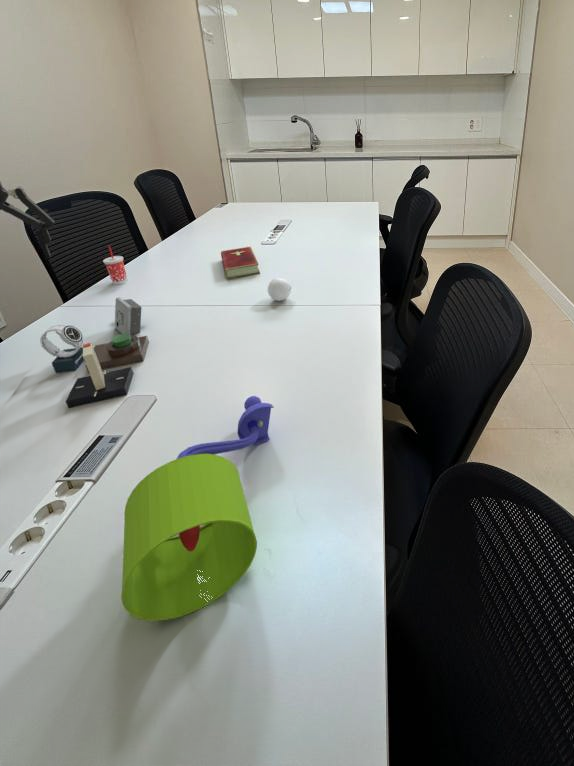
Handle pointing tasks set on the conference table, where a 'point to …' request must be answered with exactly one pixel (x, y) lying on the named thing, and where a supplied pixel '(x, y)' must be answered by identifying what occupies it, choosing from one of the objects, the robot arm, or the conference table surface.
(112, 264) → the beverage cup
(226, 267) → the hardcover book
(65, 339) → the watch
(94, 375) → the cream rectangular block
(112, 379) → the dimmer panel
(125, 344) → the button
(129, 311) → the electrical switch
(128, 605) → the wall lamp
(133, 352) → the switch block
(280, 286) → the white ovoid piece
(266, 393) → the conference table surface
